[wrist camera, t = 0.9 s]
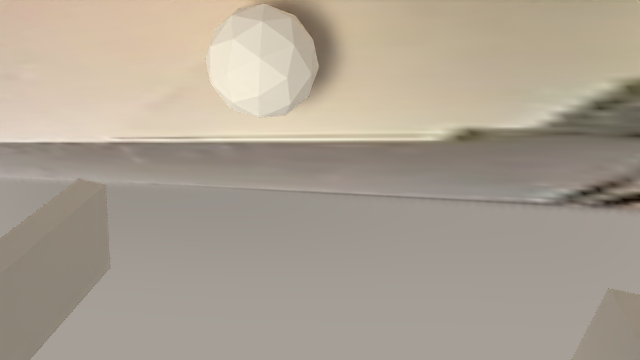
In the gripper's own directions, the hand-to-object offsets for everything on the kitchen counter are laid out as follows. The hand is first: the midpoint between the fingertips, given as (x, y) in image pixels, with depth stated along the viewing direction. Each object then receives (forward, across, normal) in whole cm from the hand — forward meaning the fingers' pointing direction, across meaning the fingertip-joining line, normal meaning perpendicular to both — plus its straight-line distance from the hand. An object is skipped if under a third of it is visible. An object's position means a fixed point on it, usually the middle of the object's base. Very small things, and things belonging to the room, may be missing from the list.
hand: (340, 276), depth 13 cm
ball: (+28, -8, -1) cm, 29 cm away
